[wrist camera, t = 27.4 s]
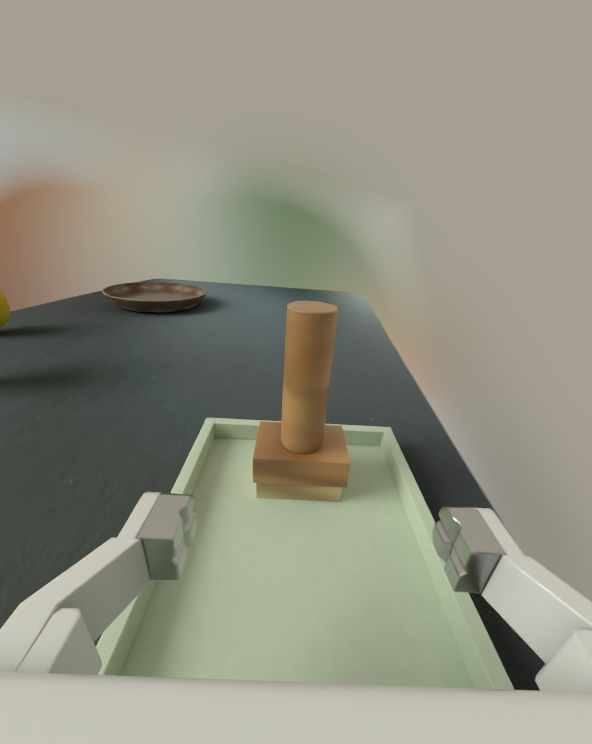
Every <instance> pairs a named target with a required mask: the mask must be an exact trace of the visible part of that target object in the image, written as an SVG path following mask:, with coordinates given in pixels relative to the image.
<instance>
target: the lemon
mask: <svg viewBox="0 0 592 744" xmlns="http://www.w3.org/2000/svg"><path fill="white" fill-rule="evenodd" d="M9 317H10V308H9V304H8V302H7V300H6V298H5V297H4V295H3V294H2V293H1V291H0V327H2V326H4V325H5V324H6V323H7V321H8V320H9Z"/></svg>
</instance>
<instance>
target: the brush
mask: <svg viewBox="0 0 592 744" xmlns="http://www.w3.org/2000/svg"><path fill="white" fill-rule="evenodd" d="M338 311H339V310H338V308H337V307H336V306H334V305H331V304H328V303H323V302H316V301H297V302H292V303H289V304H288V305H287V319H286V339H285V359H284V380H283V400H282V421H281V422H264V421H260V424H259V429H258V434H257V439H256V444H255V449H254V454H253V483H256V498H273V499H294V500H314V501H334V502H340V499H341V493H342V487H346V486H347V481H348V475H349V470H350V464H351V463H350V459H349V455H348V450H347V446H346V441H345V437H344V432H343V428H342V426H337V425H325V418H326V410H327V401H328V393H329V385H330V377H331V369H332V360H333V352H334V344H335V336H336V328H337V319H338Z"/></svg>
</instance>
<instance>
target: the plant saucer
mask: <svg viewBox="0 0 592 744" xmlns="http://www.w3.org/2000/svg"><path fill="white" fill-rule="evenodd" d="M102 292H103V294H104V295H105V296H106V297H107V298H108V299H109V300H110V301H111V302H113V303H114V304H115V305H117V306H119V307H121V308H123V309H126V310H131V311H137V312H154V313H158V312H174V311H181V310H186V309H189V308H192V307H194V306H196V305H197V304H198V303H199V302H200V301H201V300H202V299H203V298H204V296H205V294H206V290H205V289H203V288H201V287H198V286H194V285H188V284H181V283H169V282H136V283H125V284H118V285H113V286H109V287H106V288H104V289H103V290H102Z"/></svg>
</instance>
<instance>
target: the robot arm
mask: <svg viewBox="0 0 592 744" xmlns="http://www.w3.org/2000/svg"><path fill="white" fill-rule="evenodd" d="M194 505H195V498H194V495H187V494H174V493H157V492H146V493H145V494H143V495H142V497H141V498H140V500H139V502H138V503H137V505H136V507H135V508H134V510H133V512H132V513H131V515H130V517H129V518H128V520H127V522H126V524H125V525H124V527H123V529H122V530H121V532H120V534H119V535H118V537H117V538H111V539H109V540H108V541H107V542H105V543H104V544H102V545H101V546H100V547H98V548H97V549H96V550H94V551H93V552H91V553H90V554H89V555H87V556H86V557H84V558H83V559H82V560H80V561H79V562H77V563H76V564H75V565H73V566H72V567H71V568H69V569H68V570H66V571H65V572H64V573H62V574H61V575H59V576H58V577H57V578H55V579H54V580H52V581H51V582H50V583H48V584H47V585H45V586H44V587H43V588H41V589H40V590H39V591H37V592H36V593H34V594H33V595H32V596H30V597H29V598H27V599H26V600H25V601H23V602H22V603H20V604H19V606H18V607H17V608H16V610H15V611H14V612H13V614H12V615H11V616H10V618H9V619H8V620H7V622H6V623H5V624H4V626H3V627H2V628H1V630H0V744H592V601H590V600H589V599H588V598H586V597H585V596H584V595H582V594H581V593H580V592H578V591H577V590H575V589H574V588H573V587H571V586H570V585H569V584H567V583H566V582H564V581H563V580H562V579H560V578H559V577H558V576H556V575H555V574H553V573H552V572H551V571H549V570H548V569H546V568H545V567H544V566H542V565H541V564H539V563H538V562H537V561H536V560H534V559H533V558H531V557H530V556H525V555H524V554H523V552H522V551H521V550H520V548H519V547H518V545H517V544H516V542H515V541H514V540H513V538H512V537H511V535H510V534H509V533H508V531H507V530H506V528H505V527H504V525H503V524H502V523H501V521H500V520H499V518H498V517H497V516H496V514H495V513H494V512H493V511H492V510H491V509H490V508H471V507H442V508H441V509H440V511H439V514H438V515H439V517H440V519H441V520H439V521H438V522H437V523H435V525H434V528H433V531H432V533H433V543H434V547H435V550H436V552H437V554H438V556H439V557H440V558H441V559H443V560H444V561H445V562H446V563H445V567H444V571H445V573H446V575H447V577H448V580H449V582H450V584H451V587H452V589H453V591H454V592H466V593H480V594H482V596H483V597H484V599H485V600H486V601H487V602H488V603H489V604H490V605H491V606H492V607H493V608H494V609H495V610H496V611H497V612H498V613H499V615H500V616H501V617H502V618H503V619H504V620H505V621H506V622H507V623H508V624H509V625H510V626H511V627H512V628H513V629H514V631H515V632H516V633H517V634H518V635H519V636H520V637H521V638H522V639H523V640H524V641H525V642H526V643H527V644H528V645H529V646H530V648H531V649H532V650H533V651H534V652H535V653H536V654H537V655H538V656H539V657H540V658H541V659H542V660H543V661H544V662H545V665H544V666H543V667H542V669H541V670H540V671H539V672H538V674H537V675H536V678H535V682H536V683H537V685H538V687H539V689H540V691H533V690H506V689H478V688H451V687H423V686H395V685H368V684H340V683H313V682H285V681H257V680H229V679H201V678H173V677H145V676H117V675H98V674H99V672H100V669H101V667H102V661H101V658H100V656H99V653H98V651H97V649H96V647H95V644H94V641H95V640H96V639H97V638H98V637H99V636H100V635H101V634H102V633H103V632H104V631H105V630H106V629H107V628H108V627H109V625H110V624H111V623H112V622H113V621H114V620H115V619H116V618H117V617H118V616H119V615H120V614H121V613H122V612H123V611H124V610H125V608H126V607H127V606H128V605H129V604H130V603H131V602H132V601H133V600H134V599H135V598H136V597H137V596H138V595H139V594H140V592H141V591H142V590H143V589H144V588H145V587H146V586H147V585H148V584H149V583H150V582H151V580H180V577H181V574H182V572H183V569H184V566H185V563H186V560H187V553H186V549H187V548H188V547H189V546H190V545H191V544H192V542H193V539H194V536H195V531H196V526H197V514H196V512H195V511H194V510H193V508H194Z"/></svg>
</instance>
